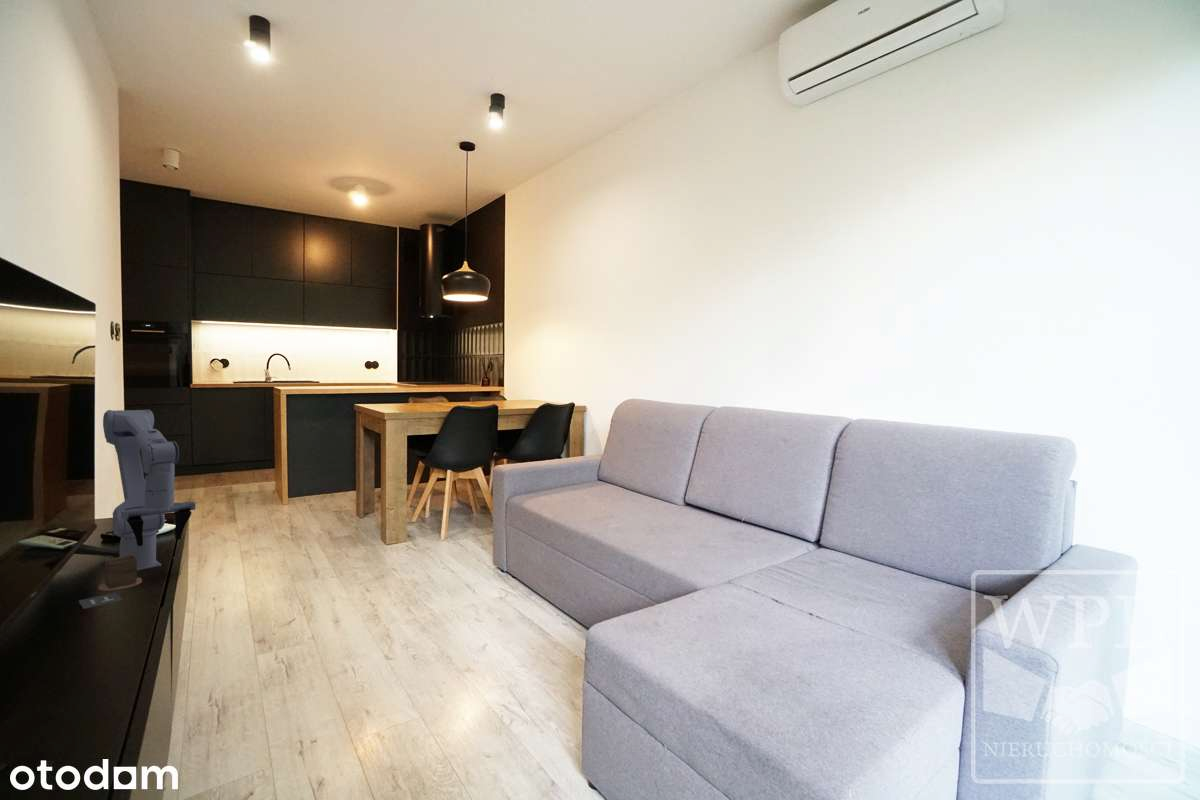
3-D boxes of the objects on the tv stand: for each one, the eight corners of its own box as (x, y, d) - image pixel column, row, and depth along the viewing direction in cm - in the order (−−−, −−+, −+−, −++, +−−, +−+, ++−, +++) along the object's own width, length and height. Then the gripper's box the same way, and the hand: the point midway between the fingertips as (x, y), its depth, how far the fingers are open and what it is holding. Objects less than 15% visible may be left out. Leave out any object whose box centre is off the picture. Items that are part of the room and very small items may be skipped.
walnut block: (105, 583, 129) (105, 559, 128) (131, 578, 133) (131, 554, 132) (109, 588, 126) (109, 564, 125) (136, 583, 130) (136, 559, 129)
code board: (72, 601, 120) (72, 600, 120) (119, 591, 126) (119, 590, 126) (79, 612, 114) (79, 611, 114) (127, 601, 121) (127, 599, 121)
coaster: (95, 585, 128) (95, 583, 128) (137, 576, 135) (137, 574, 135) (102, 594, 124) (102, 592, 124) (145, 585, 130) (145, 582, 130)
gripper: (126, 496, 125) (125, 551, 125) (199, 487, 136) (198, 538, 137) (119, 491, 129) (118, 545, 129) (190, 484, 141) (190, 533, 141)
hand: (159, 541), depth 133 cm, fingers open, 7 cm apart
